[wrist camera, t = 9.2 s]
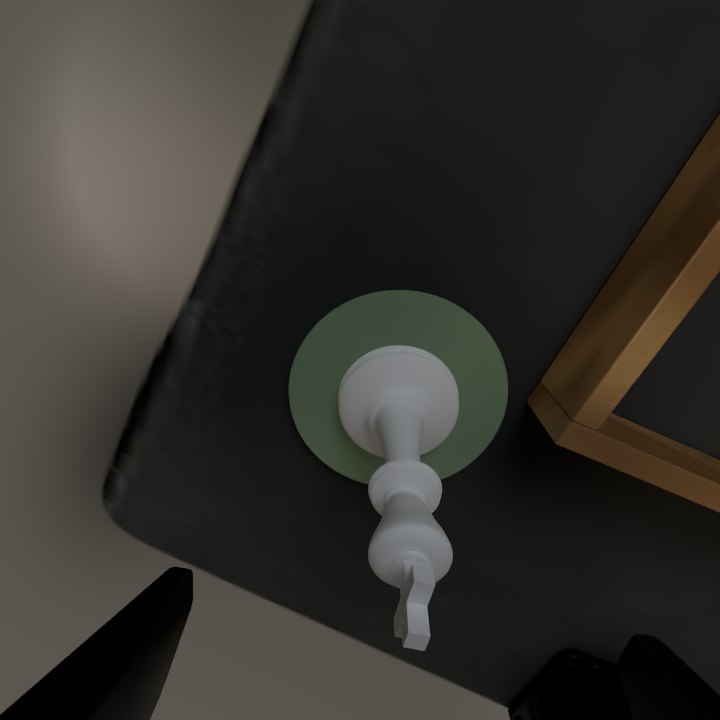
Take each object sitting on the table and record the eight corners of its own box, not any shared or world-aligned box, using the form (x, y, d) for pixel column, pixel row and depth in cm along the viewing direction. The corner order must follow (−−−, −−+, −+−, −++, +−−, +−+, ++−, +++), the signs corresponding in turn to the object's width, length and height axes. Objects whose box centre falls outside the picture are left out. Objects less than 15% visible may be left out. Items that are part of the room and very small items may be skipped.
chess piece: (473, 359, 17) (590, 575, 7) (439, 461, 18) (497, 736, 9) (350, 332, 16) (311, 520, 7) (328, 439, 18) (275, 696, 9)
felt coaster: (442, 508, 20) (443, 514, 20) (262, 439, 19) (259, 444, 19) (549, 345, 17) (552, 348, 16) (338, 251, 16) (337, 252, 15)
